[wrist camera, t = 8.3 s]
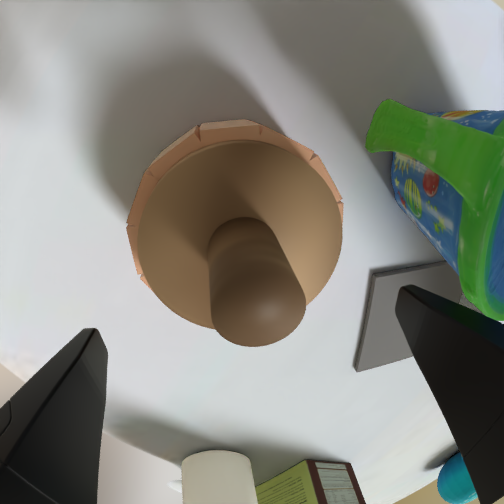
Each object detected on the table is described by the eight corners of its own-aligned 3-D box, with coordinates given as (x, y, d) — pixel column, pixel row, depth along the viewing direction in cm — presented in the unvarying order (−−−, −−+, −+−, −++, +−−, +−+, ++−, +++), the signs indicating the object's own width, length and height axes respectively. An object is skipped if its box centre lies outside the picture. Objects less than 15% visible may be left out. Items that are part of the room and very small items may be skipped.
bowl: (310, 116, 16) (344, 122, 12) (310, 267, 20) (335, 309, 16) (134, 133, 15) (110, 144, 11) (162, 286, 19) (155, 333, 15)
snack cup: (298, 181, 18) (391, 272, 9) (377, 33, 14) (511, 9, 5) (451, 266, 22) (529, 342, 14) (506, 161, 19) (600, 207, 10)
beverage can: (185, 443, 28) (191, 544, 18) (258, 447, 30) (277, 540, 20) (178, 470, 32) (182, 553, 21) (240, 473, 34) (253, 551, 23)
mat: (468, 256, 22) (471, 259, 22) (440, 342, 27) (442, 346, 26) (372, 274, 21) (376, 277, 21) (354, 368, 26) (356, 372, 26)
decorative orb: (478, 443, 55) (500, 481, 42) (433, 474, 58) (452, 514, 45) (477, 432, 49) (503, 477, 35) (424, 469, 51) (446, 516, 38)
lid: (333, 134, 12) (404, 159, 8) (327, 302, 16) (367, 375, 11) (126, 154, 11) (78, 190, 7) (164, 324, 15) (155, 407, 11)
